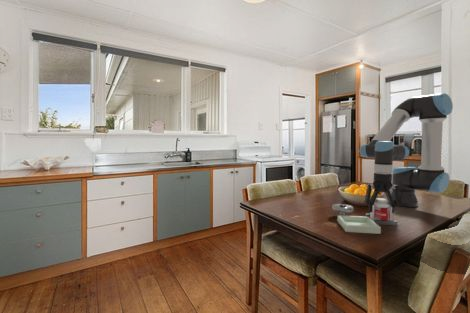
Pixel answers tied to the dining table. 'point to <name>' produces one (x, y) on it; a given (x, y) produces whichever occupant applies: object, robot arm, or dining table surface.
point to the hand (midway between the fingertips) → (380, 218)
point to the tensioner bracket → (383, 221)
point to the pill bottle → (381, 209)
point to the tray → (358, 224)
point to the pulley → (342, 208)
